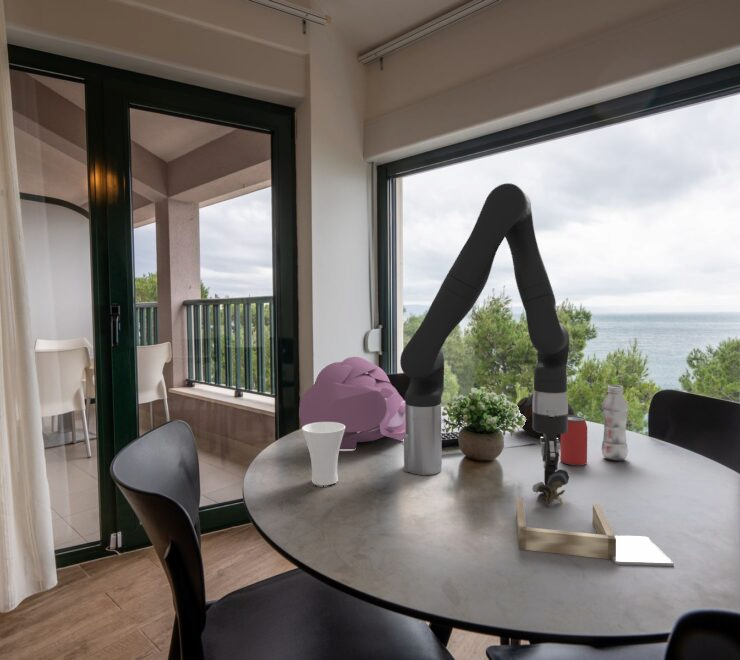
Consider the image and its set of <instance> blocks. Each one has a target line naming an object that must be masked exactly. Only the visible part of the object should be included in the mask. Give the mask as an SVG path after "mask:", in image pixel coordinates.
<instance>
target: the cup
mask: <svg viewBox="0 0 740 660" xmlns="http://www.w3.org/2000/svg"><path fill="white" fill-rule="evenodd" d="M301 431H302V433H303V436H304V439H305V443H306V446H307V448H308V451H309V456H310V462H311V480H312V482H313V483H315V484H319V485H328V484H333V483H336V482H337V481H338V482H339V477H338V476H339V475H338V462H339V461H338V458H339V453H340V451H339V448H340V445H341V441H342V437H343V434H344V431H345V425H343V424H341V423H336V422H317V423H311V424H307V425H305V426H302V427H301ZM336 484H337V483H336Z"/></svg>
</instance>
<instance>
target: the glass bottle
mask: <svg viewBox="0 0 740 660" xmlns="http://www.w3.org/2000/svg"><path fill="white" fill-rule="evenodd" d="M536 356H537V357H538V353H537V354H536ZM517 406H518V407H519V410H520V413H521V414H523V415H524V416H525V417H526V419H527V420H526V422H525V425H524V426H523V427H522V428H521V429H522V430H523V431H524V432H526V433H528V434H529V435H531V436H533V437H537V438H540V437H543V433H539V432H536V431H534V430H533V394H532V395H530V396H524V397H523V398H521V399H520V400H519V401H518V402H517V404H516V407H517ZM568 416H576V413H575V409H574V408H573V406H572V405H571V404H570V403H569V402H568ZM556 437H557V438H561V434H558V435H557V436H556Z"/></svg>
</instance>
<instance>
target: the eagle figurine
mask: <svg viewBox="0 0 740 660" xmlns="http://www.w3.org/2000/svg"><path fill="white" fill-rule="evenodd" d="M569 480H570V475H569V474H568V471H566V470H565V469H557V471H555V472H554V473H552V474H551V475H550V476H549V479H548V482H547V484H546V485H545V483H544V481H543V482H542V481H540V482H537V483H535V484H533V485H532V492H533V493H536V494H538V493H543V494H544V495H542V496H541V499H544V500H546V501H545V503H546V505H545V508H548V507H549V506H550V505H551V504H552V502H553V501H554V500H556V501H558V502H559V503H561V504H563V500H562V497H561V495H563V494H564V492H566V490H565V489H562V490H561V491H559V492H558V489H559V488H562V487H563V486H565V485H567V484H568V483H569Z"/></svg>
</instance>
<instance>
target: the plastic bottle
mask: <svg viewBox="0 0 740 660" xmlns="http://www.w3.org/2000/svg"><path fill="white" fill-rule="evenodd" d="M607 393H608V395H606V397H605V398H604V400H602V403H601V406H602V407H601V408H602V415H603V424H604V425H603V429H604V430H603V439H602V443H601V453H602V456H603V457H604V458H605V459H607V460H610V461H617V462H618V461H625V460H626V459H627V457H628V453H629V449H628V443H627V430H626V429H627V418H628V413H629V404H628V401H627V400H626V398H625V397H624V396H623V394H624V387H623V385H619V384H608V385H607Z"/></svg>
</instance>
